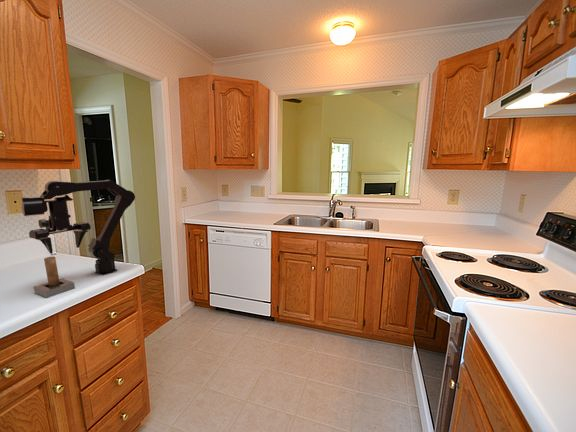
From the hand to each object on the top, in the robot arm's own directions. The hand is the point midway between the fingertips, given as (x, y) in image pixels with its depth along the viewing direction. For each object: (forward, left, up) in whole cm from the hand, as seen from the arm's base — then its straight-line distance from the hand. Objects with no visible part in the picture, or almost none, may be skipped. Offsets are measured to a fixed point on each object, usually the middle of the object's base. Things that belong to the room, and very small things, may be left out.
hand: (65, 250), depth 111 cm
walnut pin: (+7, +6, -13) cm, 16 cm away
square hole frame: (+7, +6, -13) cm, 16 cm away
